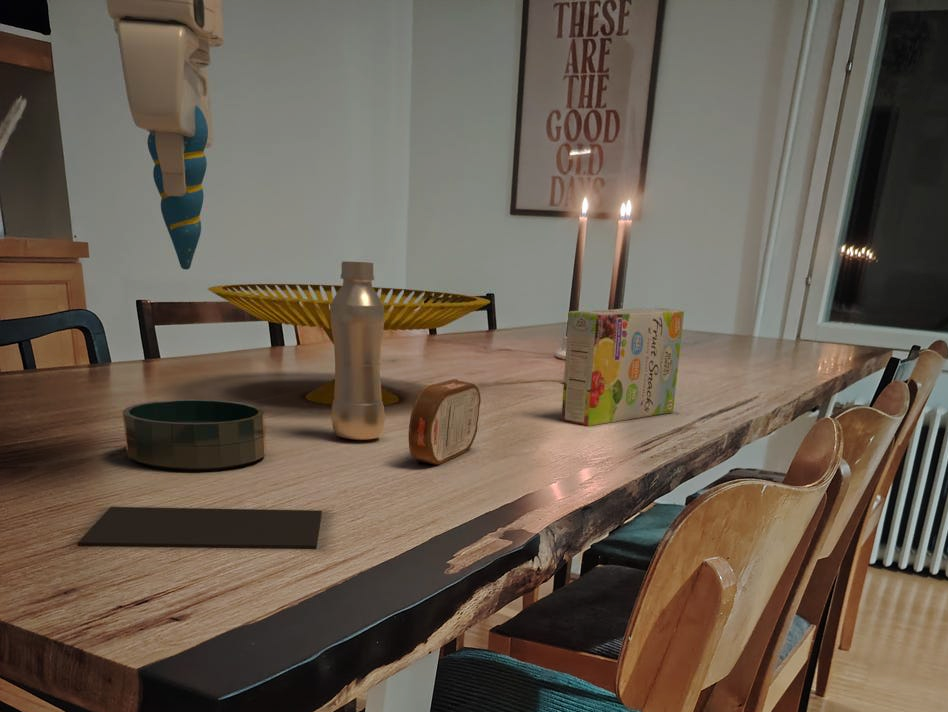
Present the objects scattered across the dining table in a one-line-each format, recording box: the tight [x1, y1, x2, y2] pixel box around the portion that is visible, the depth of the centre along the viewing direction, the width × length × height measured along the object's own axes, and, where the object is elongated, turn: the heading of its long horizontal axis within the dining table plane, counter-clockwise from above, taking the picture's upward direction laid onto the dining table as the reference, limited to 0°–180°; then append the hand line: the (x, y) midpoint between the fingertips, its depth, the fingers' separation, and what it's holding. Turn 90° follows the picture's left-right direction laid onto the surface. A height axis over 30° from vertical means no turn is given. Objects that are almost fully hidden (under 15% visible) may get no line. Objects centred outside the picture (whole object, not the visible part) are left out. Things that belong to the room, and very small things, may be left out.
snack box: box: [560, 307, 685, 427], centre depth 133 cm, size 21×6×15 cm, turn 136°
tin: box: [408, 378, 481, 466], centre depth 104 cm, size 15×3×8 cm, turn 159°
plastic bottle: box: [329, 260, 386, 442], centre depth 108 cm, size 6×7×20 cm
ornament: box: [146, 106, 208, 271], centre depth 82 cm, size 5×5×15 cm
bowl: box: [121, 399, 267, 472], centre depth 98 cm, size 14×14×5 cm
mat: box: [77, 506, 323, 550], centre depth 76 cm, size 18×10×1 cm, turn 97°
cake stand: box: [207, 283, 491, 406], centre depth 137 cm, size 40×40×15 cm
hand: (181, 197), depth 83 cm, fingers closed on ornament, 4 cm apart
